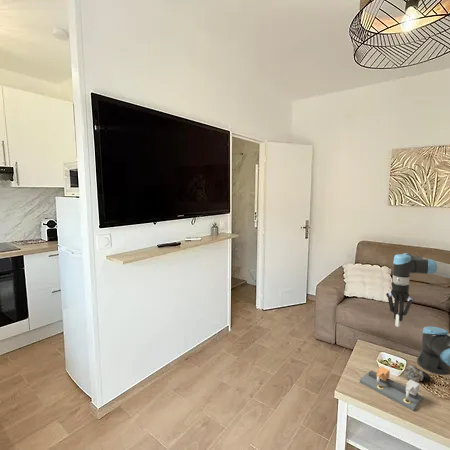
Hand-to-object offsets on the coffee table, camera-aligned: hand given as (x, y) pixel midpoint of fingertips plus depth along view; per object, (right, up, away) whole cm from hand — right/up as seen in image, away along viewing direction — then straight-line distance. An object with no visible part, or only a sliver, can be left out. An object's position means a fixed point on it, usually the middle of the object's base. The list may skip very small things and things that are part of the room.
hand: (397, 325), depth 147 cm
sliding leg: (-12, -28, -5) cm, 30 cm away
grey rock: (+11, -30, +2) cm, 32 cm away
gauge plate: (-9, -30, -8) cm, 33 cm away
